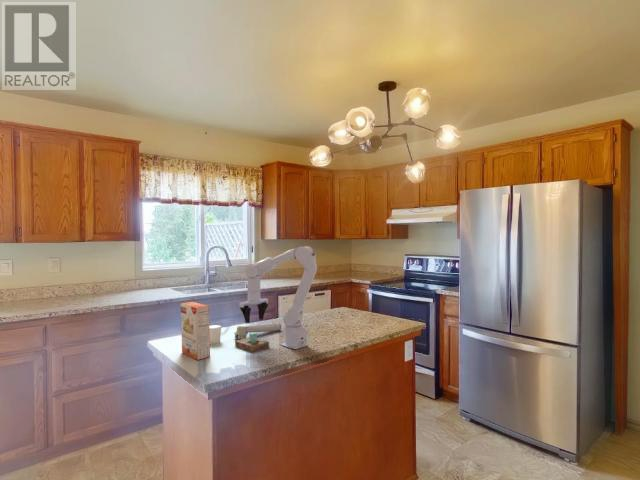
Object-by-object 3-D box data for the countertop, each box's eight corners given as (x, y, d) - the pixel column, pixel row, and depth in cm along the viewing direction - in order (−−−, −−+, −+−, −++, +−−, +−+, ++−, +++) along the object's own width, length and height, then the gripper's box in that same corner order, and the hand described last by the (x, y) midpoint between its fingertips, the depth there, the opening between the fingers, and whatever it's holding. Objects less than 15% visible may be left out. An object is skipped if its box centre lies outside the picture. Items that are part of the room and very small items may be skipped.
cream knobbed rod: (282, 323, 187) (239, 325, 170) (281, 336, 187) (237, 339, 170) (276, 321, 191) (233, 323, 174) (275, 334, 191) (231, 337, 174)
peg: (258, 347, 160) (258, 333, 160) (252, 348, 158) (252, 335, 158) (254, 345, 162) (253, 332, 162) (248, 347, 160) (247, 333, 160)
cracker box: (180, 353, 153) (180, 303, 153) (194, 349, 158) (193, 301, 157) (196, 361, 144) (195, 307, 143) (210, 357, 148) (209, 305, 147)
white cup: (223, 339, 173) (222, 324, 173) (219, 343, 166) (219, 328, 166) (208, 339, 173) (208, 324, 173) (204, 343, 166) (204, 328, 166)
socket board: (268, 347, 160) (268, 341, 160) (252, 352, 153) (251, 346, 153) (252, 341, 168) (251, 336, 168) (235, 346, 162) (235, 341, 162)
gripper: (261, 288, 175) (261, 316, 175) (235, 292, 164) (235, 322, 164) (270, 289, 170) (271, 319, 170) (244, 293, 159) (245, 325, 159)
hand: (254, 321), depth 167 cm, fingers open, 7 cm apart
